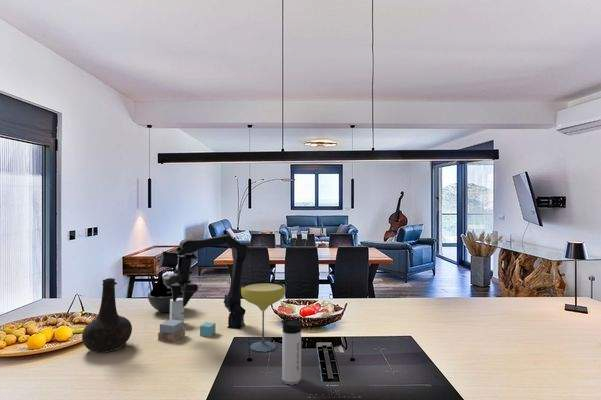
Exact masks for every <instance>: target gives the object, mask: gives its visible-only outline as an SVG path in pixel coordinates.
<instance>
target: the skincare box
mask: <svg viewBox="0 0 601 400" xmlns="http://www.w3.org/2000/svg"><path fill="white" fill-rule="evenodd" d="M169 319H171V320H180V321H183V325H184V324H185V306H184V307H183V298H177V300H176V301H175V302H173V299H170V312H169Z"/></svg>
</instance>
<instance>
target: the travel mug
mask: <svg viewBox="0 0 601 400" xmlns="http://www.w3.org/2000/svg"><path fill="white" fill-rule="evenodd" d="M281 324H282V340H281V341H282V347H281V348H282V349H281V352H282V356H281V357H282V361H281V363H282V365H281V366H282V368H281V371H282V372H281V373H282V374H281V376H282V377H281V379H282V380H281V381H282V383H283V382H284V384H285V385H287V384H289V385H288V386H295V385H294V384H296V385H298V384H300V383H301V382H300V381H302V323H301V321H299V320H296V319H281ZM299 382H300V383H299Z"/></svg>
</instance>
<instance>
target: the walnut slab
mask: <svg viewBox="0 0 601 400" xmlns="http://www.w3.org/2000/svg"><path fill="white" fill-rule="evenodd" d="M185 336H186V328H184V327H183V329H182V330H180V331H179V332H177V333H175V334H168V333H160V331H159V332H158V333H157V341H162V342H169V343H175V342H177V341H178V340H180V339H182V338H184V337H185Z"/></svg>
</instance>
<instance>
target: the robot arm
mask: <svg viewBox="0 0 601 400" xmlns="http://www.w3.org/2000/svg"><path fill="white" fill-rule="evenodd" d="M178 245H179V246H178V247H176V249H174V251H171V252H170V251H167V250H166V251H164V250H163V251H162V252H161V255H160V258H159V268H168V269H169V268H170V269H171V268H172V269H174V268H175V267H177V268H176V269H174V273H171V274H170V273H169V274H168V275H167V274H166V275H167V276H165V275H164V276H165V277H163V276H162V277H163V283H164V285H166V286H167V287H168V288H171V292H172V298H173V302H175V301H176V300H177V297H178V295H179V292H180V290H182V291H181V292H182V294H183V307H184V308H185V307H186V306H187V305H188V303H189V302H190V299H192V297H193V296H194V294H195V293H196V292H198V291H199V285H198V284H196V283H194V282H192V280H190V277H191V275H192V274H193V271H192V270H191V269H192V261H193V260H194V259H195V260H196V259H198V257H197V256H196V254H195V253H196V252H197V251H199V250H202V249H205V248H210V247H215V246H220V245H221V246H222V245H226V246H227V247H228V248H230V249H231V256H232V261H233V262H232V269H231V270H232V271H231V277H230V285H229V291H228V293H227V294H224V299H223V303H224V307H225V308H226V309H227V311H228V312H229V313H228V318H227V321H228V323H227V328H229V329H235V330H237V329H238V330H240V329H242V328H243V327H245V325H246V323H245V319H244V318H245V317H244V316H245V314H246V309H245V308H244V307H243V306H242V299H241V295H240V291H241V281H242V274H243V266H244V265H243V264H244V263H245V260H246V259H247V256H248V252H249V247H248V245H247V244H244V243H241V242H240V241H238V240H237V239H235V238H234V237H232V236H231V235H229V234H223V235H218V236H212V237H207V238H202V239H196V238H195V239H193V238H191V239H189V238H187V239H182V240H181V241H180V242H179V244H178ZM223 303H222V304H223Z"/></svg>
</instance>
